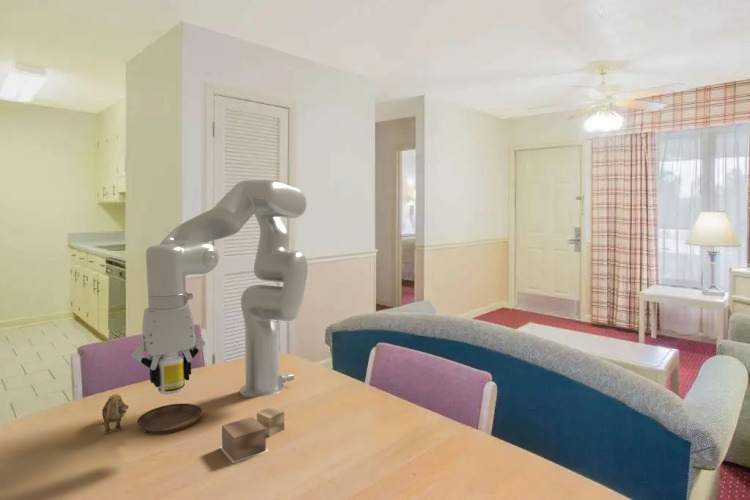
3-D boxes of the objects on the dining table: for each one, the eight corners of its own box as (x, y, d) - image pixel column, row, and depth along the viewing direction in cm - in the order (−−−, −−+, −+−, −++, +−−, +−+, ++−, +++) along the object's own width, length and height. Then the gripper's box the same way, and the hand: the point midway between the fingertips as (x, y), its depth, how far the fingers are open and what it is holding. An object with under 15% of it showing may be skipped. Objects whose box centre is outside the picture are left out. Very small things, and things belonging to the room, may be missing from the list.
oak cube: (271, 424, 112) (271, 406, 112) (284, 429, 109) (284, 411, 109) (257, 430, 108) (256, 412, 108) (269, 436, 106) (269, 417, 105)
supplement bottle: (190, 386, 103) (188, 344, 102) (172, 396, 98) (170, 352, 97) (171, 383, 105) (169, 342, 104) (152, 393, 100) (150, 349, 99)
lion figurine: (130, 435, 108) (129, 398, 107) (104, 441, 105) (102, 403, 104) (123, 412, 120) (122, 378, 119) (99, 417, 117) (98, 383, 116)
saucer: (122, 434, 109) (122, 423, 109) (170, 409, 123) (169, 399, 123) (171, 445, 104) (171, 434, 104) (215, 418, 118) (215, 408, 117)
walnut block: (252, 437, 105) (252, 416, 104) (265, 450, 99) (265, 428, 99) (222, 447, 101) (221, 425, 100) (234, 461, 95) (233, 438, 95)
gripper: (202, 293, 108) (205, 368, 110) (119, 303, 97) (124, 385, 99) (213, 299, 102) (215, 377, 104) (126, 310, 91) (131, 397, 93)
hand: (171, 380), depth 101 cm, fingers closed on supplement bottle, 5 cm apart
